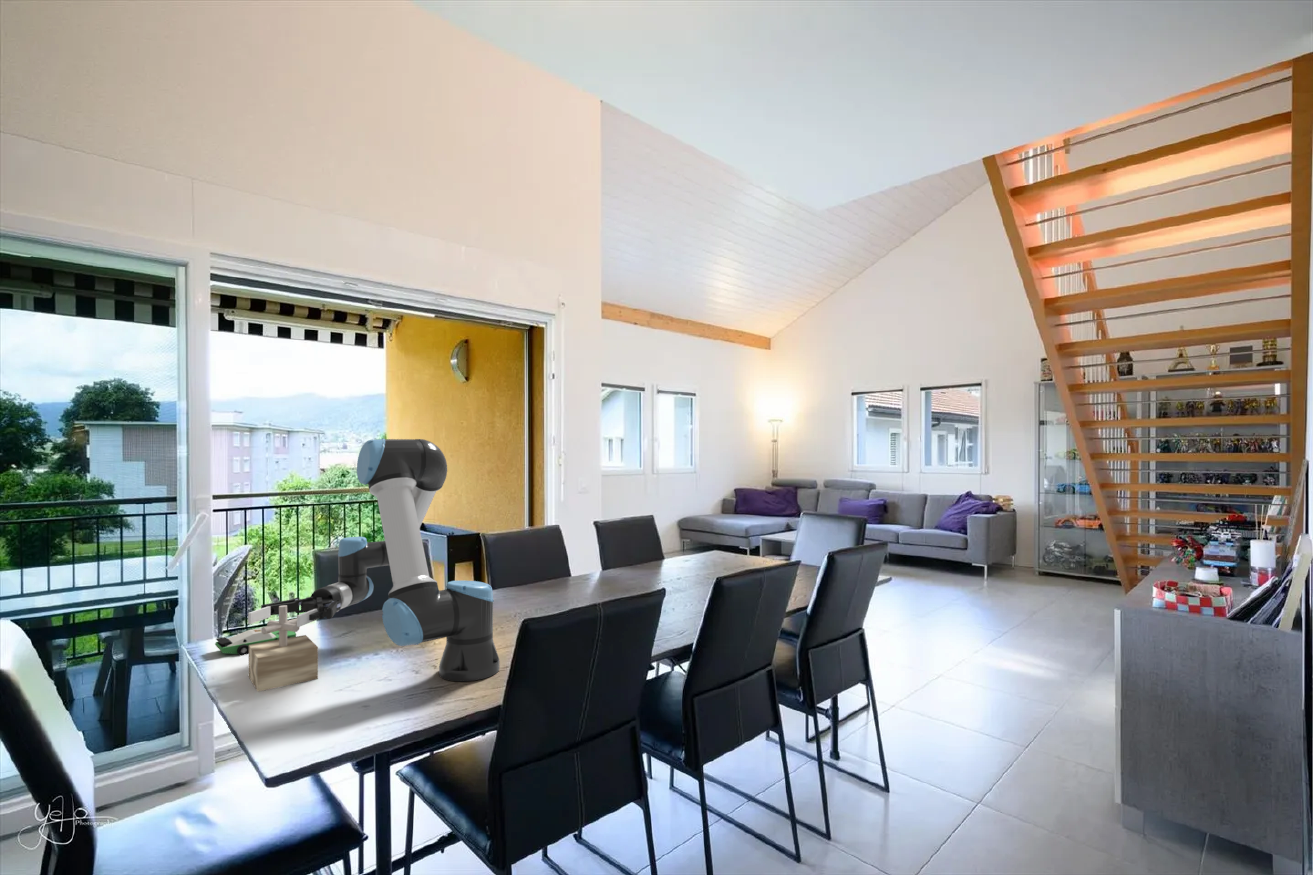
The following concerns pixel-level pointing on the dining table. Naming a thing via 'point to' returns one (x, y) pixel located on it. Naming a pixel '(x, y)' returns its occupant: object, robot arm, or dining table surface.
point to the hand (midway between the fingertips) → (273, 619)
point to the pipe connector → (281, 626)
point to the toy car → (247, 641)
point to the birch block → (282, 663)
